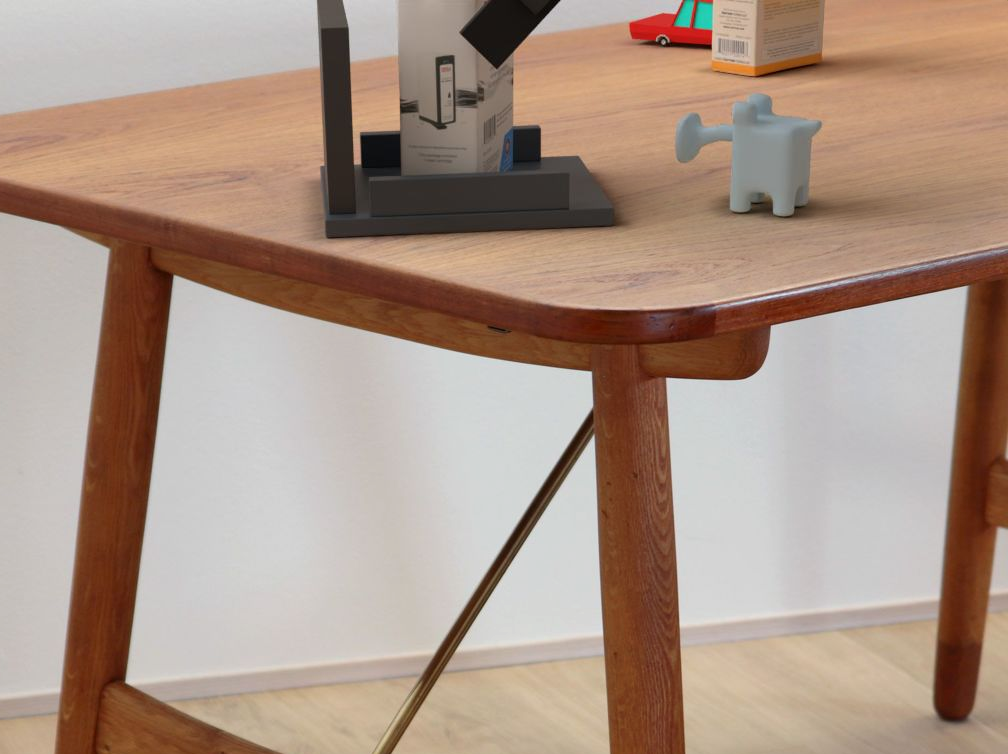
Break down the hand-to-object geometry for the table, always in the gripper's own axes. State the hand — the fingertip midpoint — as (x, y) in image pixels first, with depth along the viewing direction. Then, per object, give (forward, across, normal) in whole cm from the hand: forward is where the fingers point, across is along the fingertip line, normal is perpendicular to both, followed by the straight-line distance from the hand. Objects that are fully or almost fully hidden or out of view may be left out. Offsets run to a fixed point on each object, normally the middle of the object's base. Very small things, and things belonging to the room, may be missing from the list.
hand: (464, 34), depth 108 cm
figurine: (-4, -3, -18) cm, 19 cm away
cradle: (+7, +1, -6) cm, 10 cm away
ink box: (+7, +1, -6) cm, 9 cm away
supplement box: (-13, +42, -26) cm, 51 cm away
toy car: (-12, +54, -25) cm, 61 cm away
